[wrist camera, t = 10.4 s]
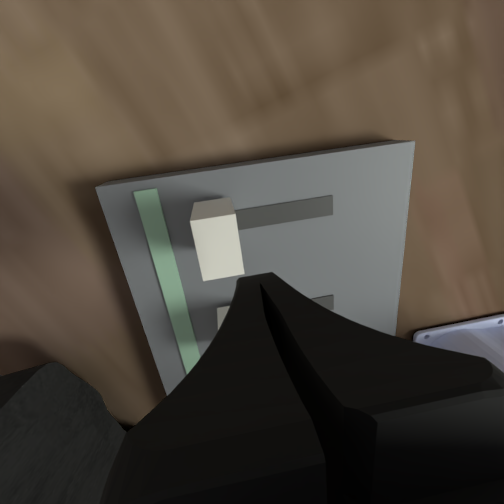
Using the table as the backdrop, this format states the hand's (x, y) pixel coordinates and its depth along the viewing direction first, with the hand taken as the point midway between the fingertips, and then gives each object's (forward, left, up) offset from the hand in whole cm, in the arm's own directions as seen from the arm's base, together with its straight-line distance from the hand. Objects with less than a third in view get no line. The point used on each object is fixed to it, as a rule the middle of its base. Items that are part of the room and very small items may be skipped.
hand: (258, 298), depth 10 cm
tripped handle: (+1, -1, -7) cm, 7 cm away
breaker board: (-2, +6, -9) cm, 11 cm away
